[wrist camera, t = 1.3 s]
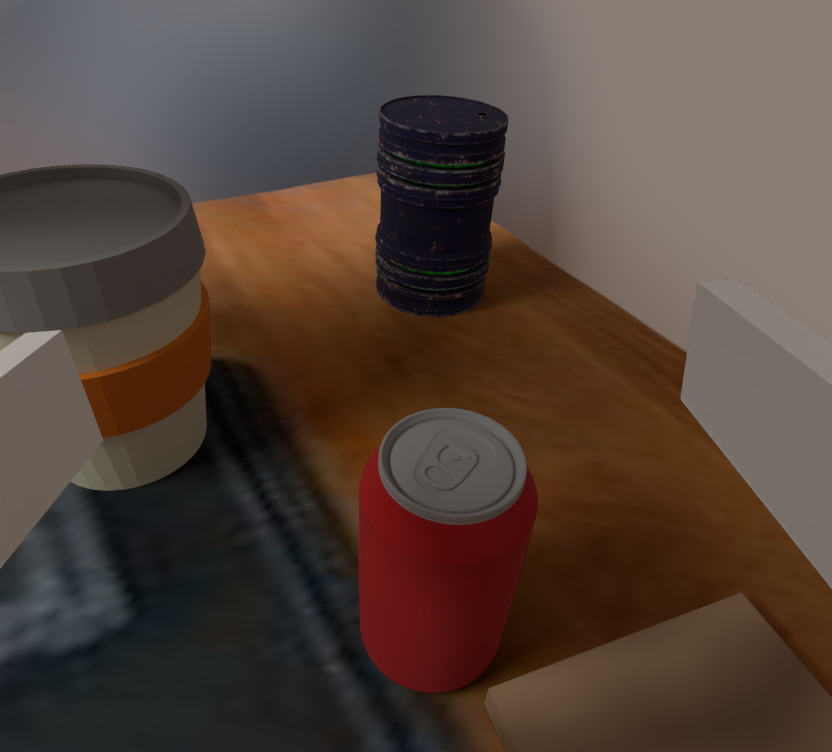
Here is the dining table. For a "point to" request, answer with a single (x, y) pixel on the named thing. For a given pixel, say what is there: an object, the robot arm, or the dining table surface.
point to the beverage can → (441, 546)
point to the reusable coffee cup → (114, 306)
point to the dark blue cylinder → (437, 201)
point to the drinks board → (671, 692)
